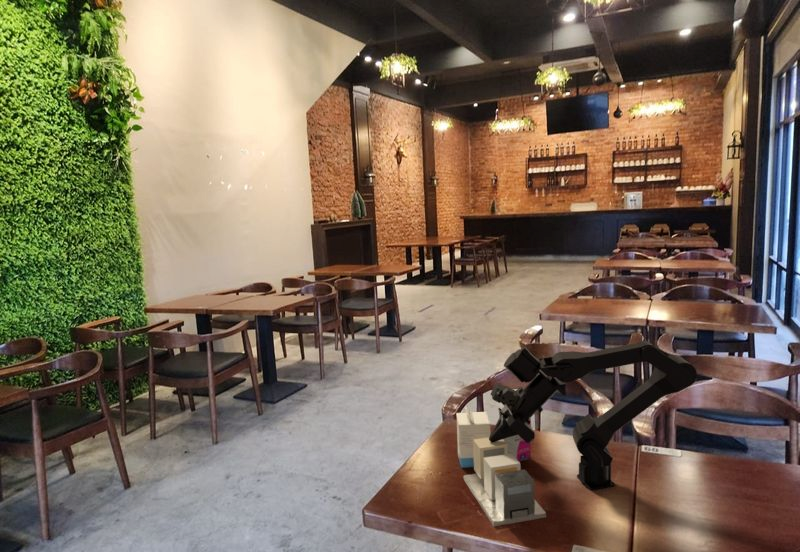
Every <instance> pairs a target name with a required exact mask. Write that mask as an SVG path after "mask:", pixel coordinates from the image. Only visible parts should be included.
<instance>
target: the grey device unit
mask: <svg viewBox="0 0 800 552" xmlns="http://www.w3.org/2000/svg"><path fill="white" fill-rule="evenodd" d="M463 480H464V482H465V484H466V485H467V487H468V488H469V491H470V492H471V493H472V495H473V496H474V498H475V499H476V501H477V503H478V504H479V506H480V508H481V509H482V511H483V512H484V514H485V515H486V517H487V519H488V520H489V521H490V523H491V525H492V527H498V526H504V525H510V524H515V523H521V522H522V523H523V522H526V521H533V520H539V519H544V518H547V512H546V511H545V509H543V508H542V506H541V505H540V504H539V503H538V502H537V500H536V499H535V479H534V478H533V477H532V476H531V475H530V474H529V472H528V471H527V470H526V469H521V470H518V471H511V472H505V473H498V474H495V500H491V498H490V497H489V495H488V494H487V492H486V491H485V486H484V479H480V477H479V476H478V475H477V473H472V474H465V475H463Z"/></svg>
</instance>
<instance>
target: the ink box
mask: <svg viewBox="0 0 800 552" xmlns="http://www.w3.org/2000/svg"><path fill="white" fill-rule="evenodd" d="M464 407H465V409H464V410H465V412H456V413H455V414H456V437H457V439H456V440H457V456H458V460H459V464H460V468H462V469H463V468H474V455H473V440H474V439H481V438H488V437H490V435H491V433H492V431H491V422H490V418H489V415H488V412H487V411H471V410H470V409H469V408H468V407H466V406H464Z"/></svg>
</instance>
